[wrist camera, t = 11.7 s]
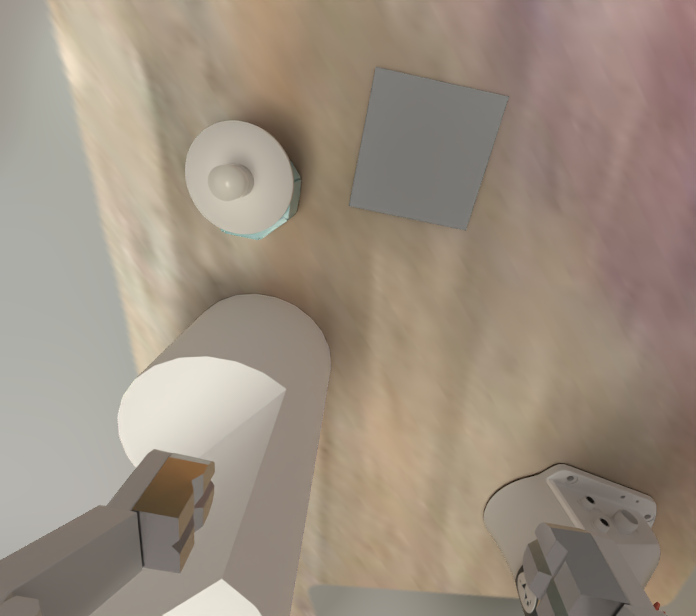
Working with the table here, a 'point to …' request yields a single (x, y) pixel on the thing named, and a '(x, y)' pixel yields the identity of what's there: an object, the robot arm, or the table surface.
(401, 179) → the mat
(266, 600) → the cylinder
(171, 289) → the table surface
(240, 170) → the lid
